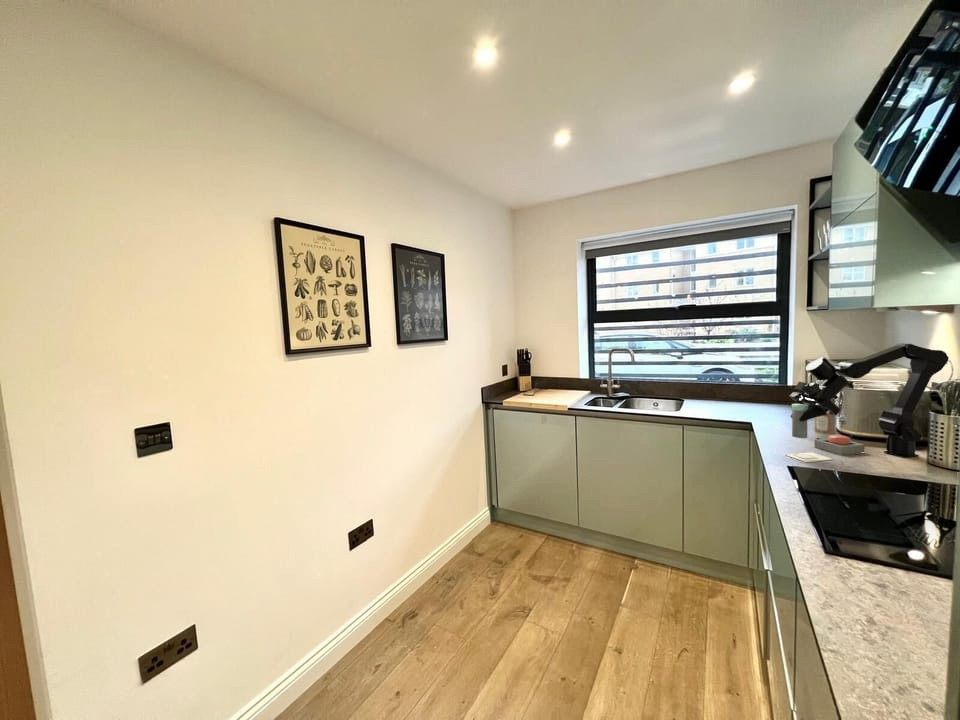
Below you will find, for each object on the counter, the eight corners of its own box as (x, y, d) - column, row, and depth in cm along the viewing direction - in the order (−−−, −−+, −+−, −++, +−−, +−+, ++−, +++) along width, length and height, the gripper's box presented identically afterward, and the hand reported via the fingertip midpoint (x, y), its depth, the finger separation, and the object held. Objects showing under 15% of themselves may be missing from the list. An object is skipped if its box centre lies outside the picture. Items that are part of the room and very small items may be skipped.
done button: (854, 447, 148) (854, 438, 148) (840, 448, 147) (840, 439, 147) (837, 443, 154) (837, 434, 154) (824, 444, 153) (824, 435, 153)
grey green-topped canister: (810, 437, 145) (811, 405, 144) (801, 438, 144) (801, 406, 143) (797, 434, 150) (798, 403, 149) (788, 435, 148) (788, 404, 148)
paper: (833, 459, 141) (833, 458, 141) (805, 462, 139) (805, 461, 139) (811, 453, 149) (811, 452, 149) (785, 455, 147) (785, 454, 147)
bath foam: (810, 437, 167) (811, 391, 166) (818, 435, 171) (819, 389, 169) (831, 441, 161) (832, 393, 160) (839, 438, 164) (840, 391, 163)
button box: (864, 452, 146) (864, 444, 146) (841, 455, 145) (841, 447, 145) (836, 445, 156) (836, 437, 156) (814, 447, 155) (814, 439, 155)
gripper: (795, 371, 154) (764, 400, 156) (831, 377, 135) (795, 409, 138) (817, 390, 153) (786, 419, 156) (856, 399, 135) (820, 431, 137)
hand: (795, 419), depth 147 cm, fingers closed on grey green-topped canister, 4 cm apart
